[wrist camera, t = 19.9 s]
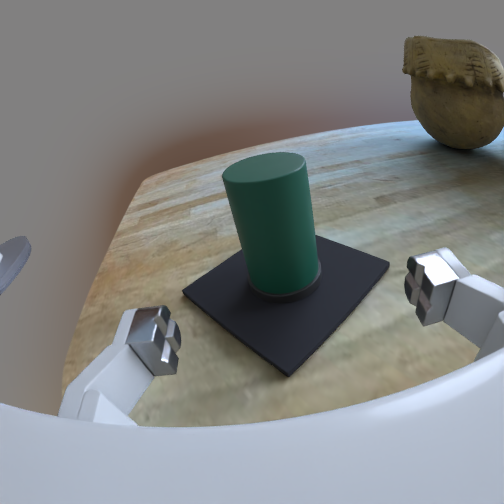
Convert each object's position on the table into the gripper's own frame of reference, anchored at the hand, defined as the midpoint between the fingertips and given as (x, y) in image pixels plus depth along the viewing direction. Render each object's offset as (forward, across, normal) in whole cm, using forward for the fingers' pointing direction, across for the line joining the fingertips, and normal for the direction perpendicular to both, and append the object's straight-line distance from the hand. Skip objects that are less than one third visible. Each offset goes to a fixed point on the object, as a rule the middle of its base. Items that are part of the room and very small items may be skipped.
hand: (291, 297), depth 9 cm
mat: (+11, 0, +9) cm, 14 cm away
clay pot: (+36, -37, +9) cm, 53 cm away
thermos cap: (+11, 0, +8) cm, 13 cm away
